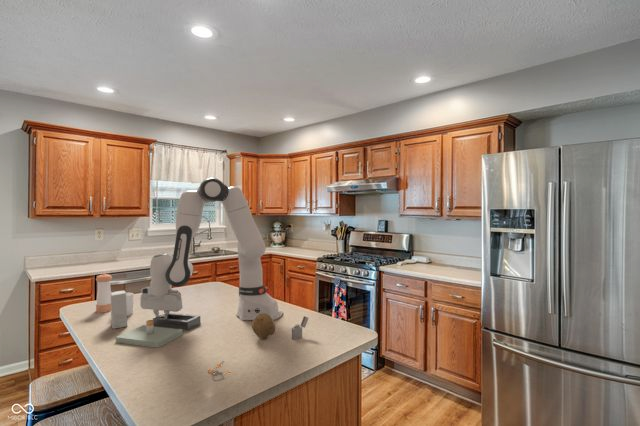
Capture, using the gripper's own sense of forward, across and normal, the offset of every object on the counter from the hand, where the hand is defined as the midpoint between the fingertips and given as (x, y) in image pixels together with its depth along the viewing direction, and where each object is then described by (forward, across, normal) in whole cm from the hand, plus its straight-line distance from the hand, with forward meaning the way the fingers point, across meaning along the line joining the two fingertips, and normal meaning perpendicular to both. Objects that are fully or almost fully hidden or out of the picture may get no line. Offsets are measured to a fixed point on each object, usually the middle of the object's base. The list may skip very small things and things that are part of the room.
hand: (161, 319), depth 157 cm
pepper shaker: (+2, +43, -9) cm, 44 cm away
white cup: (+2, +27, -6) cm, 28 cm away
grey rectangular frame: (+2, -8, 0) cm, 8 cm away
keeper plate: (+2, -8, +16) cm, 18 cm away
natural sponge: (+2, -52, +4) cm, 52 cm away
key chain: (+2, -50, +33) cm, 60 cm away
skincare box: (+2, +17, +7) cm, 18 cm away
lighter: (+2, -66, -1) cm, 66 cm away
